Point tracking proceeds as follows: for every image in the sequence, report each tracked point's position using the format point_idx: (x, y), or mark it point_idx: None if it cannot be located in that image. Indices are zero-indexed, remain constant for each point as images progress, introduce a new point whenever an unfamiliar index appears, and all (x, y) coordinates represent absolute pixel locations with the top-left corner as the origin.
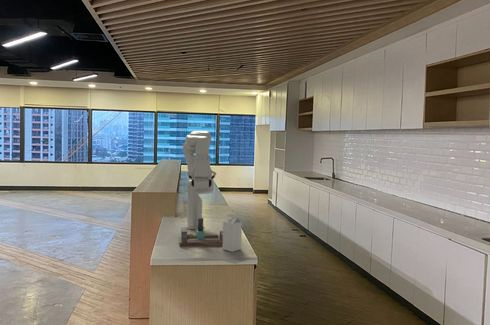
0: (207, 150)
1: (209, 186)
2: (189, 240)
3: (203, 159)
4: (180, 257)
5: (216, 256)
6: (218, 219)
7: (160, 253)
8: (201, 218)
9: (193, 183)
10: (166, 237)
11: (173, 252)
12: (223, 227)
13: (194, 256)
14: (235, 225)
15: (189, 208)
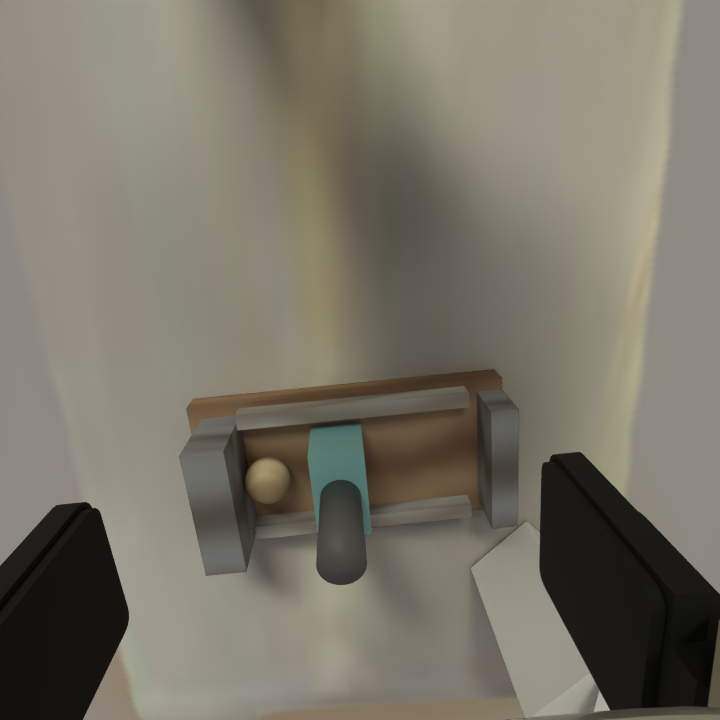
0: None
1: (552, 586)
2: (272, 535)
3: None
4: (255, 696)
5: (429, 673)
6: None
7: (140, 647)
8: (349, 571)
9: (73, 716)
10: (75, 295)
11: (205, 628)
12: (514, 684)
13: (321, 679)
14: None
15: None
